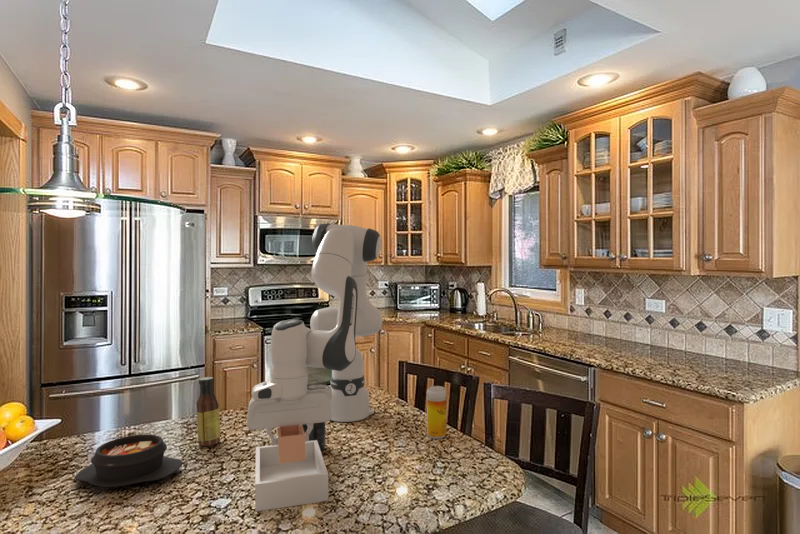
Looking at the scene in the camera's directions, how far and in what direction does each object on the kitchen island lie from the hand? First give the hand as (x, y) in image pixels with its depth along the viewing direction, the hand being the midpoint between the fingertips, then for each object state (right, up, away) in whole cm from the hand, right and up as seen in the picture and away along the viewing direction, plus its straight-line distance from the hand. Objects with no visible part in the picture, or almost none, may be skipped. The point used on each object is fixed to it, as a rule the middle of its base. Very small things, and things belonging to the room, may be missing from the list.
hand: (290, 442), depth 116 cm
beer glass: (+38, -10, +32) cm, 51 cm away
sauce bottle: (-31, -11, +28) cm, 43 cm away
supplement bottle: (+2, -10, +22) cm, 24 cm away
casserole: (-42, -11, +6) cm, 44 cm away
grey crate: (0, -10, 0) cm, 10 cm away
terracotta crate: (0, -2, 0) cm, 2 cm away
